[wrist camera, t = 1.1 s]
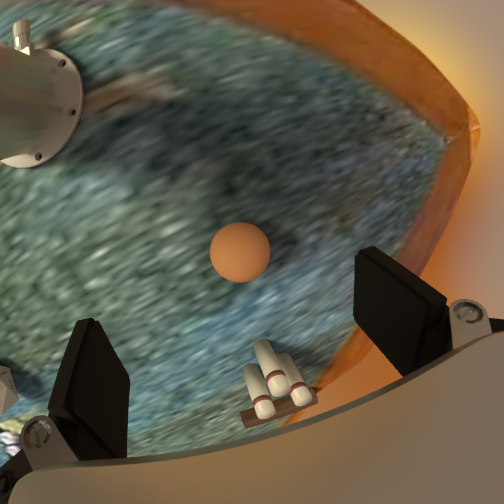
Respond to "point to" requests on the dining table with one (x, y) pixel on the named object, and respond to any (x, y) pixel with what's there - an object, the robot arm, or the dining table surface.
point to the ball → (240, 252)
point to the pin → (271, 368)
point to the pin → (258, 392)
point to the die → (6, 390)
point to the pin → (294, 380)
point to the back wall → (281, 407)
